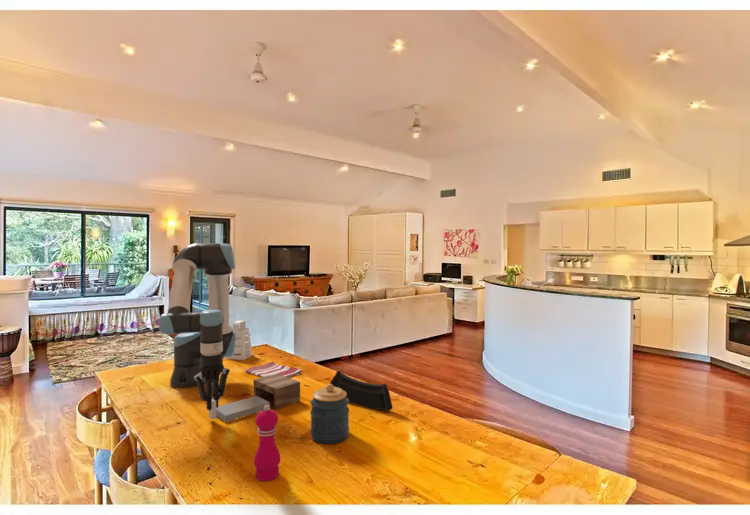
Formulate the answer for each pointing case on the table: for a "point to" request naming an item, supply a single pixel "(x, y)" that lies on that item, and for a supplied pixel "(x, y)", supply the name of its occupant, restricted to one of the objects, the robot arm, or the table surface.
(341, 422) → the canister
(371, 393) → the magazine
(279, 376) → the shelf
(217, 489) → the table surface
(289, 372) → the dish towel
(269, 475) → the pepper mill
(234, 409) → the tile
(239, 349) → the grater
